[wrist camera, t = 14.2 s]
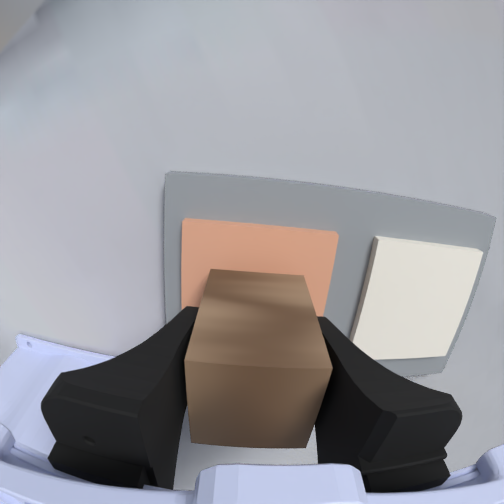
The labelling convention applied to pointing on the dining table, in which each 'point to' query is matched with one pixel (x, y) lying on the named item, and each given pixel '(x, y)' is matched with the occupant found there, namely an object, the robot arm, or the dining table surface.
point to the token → (255, 362)
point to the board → (334, 257)
